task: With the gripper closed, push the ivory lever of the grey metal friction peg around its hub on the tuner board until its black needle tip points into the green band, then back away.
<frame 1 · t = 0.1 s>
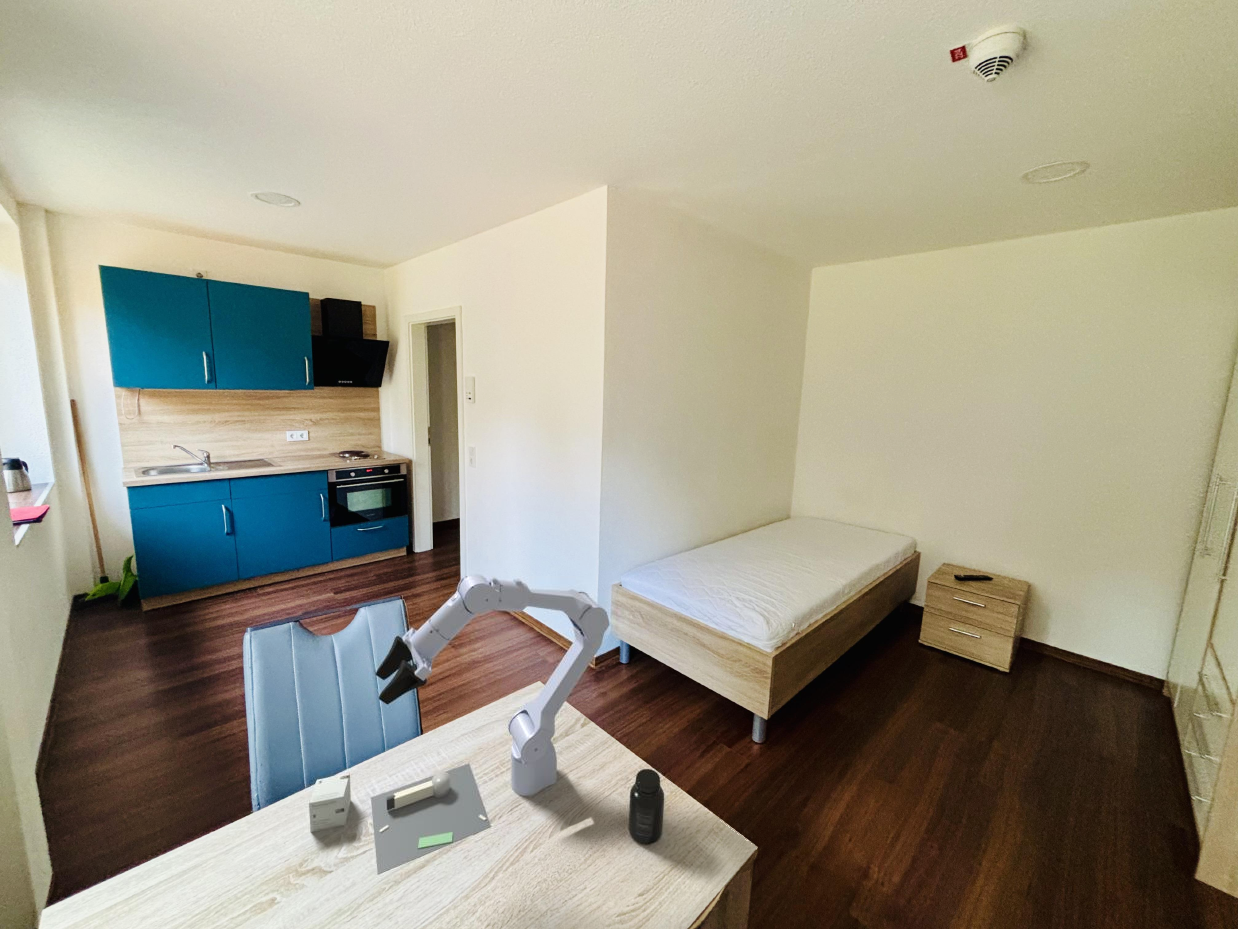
hand: (381, 688, 88), 32 cm above the table, tool tilted 50°, fingers open, 7 cm apart
skincare box: (332, 820, 97), on the table
supplement bottle: (645, 831, 98), on the table
peg lever: (419, 793, 101), point 3 cm above the table, hinge at 0.0°
tuner board: (429, 816, 99), on the table
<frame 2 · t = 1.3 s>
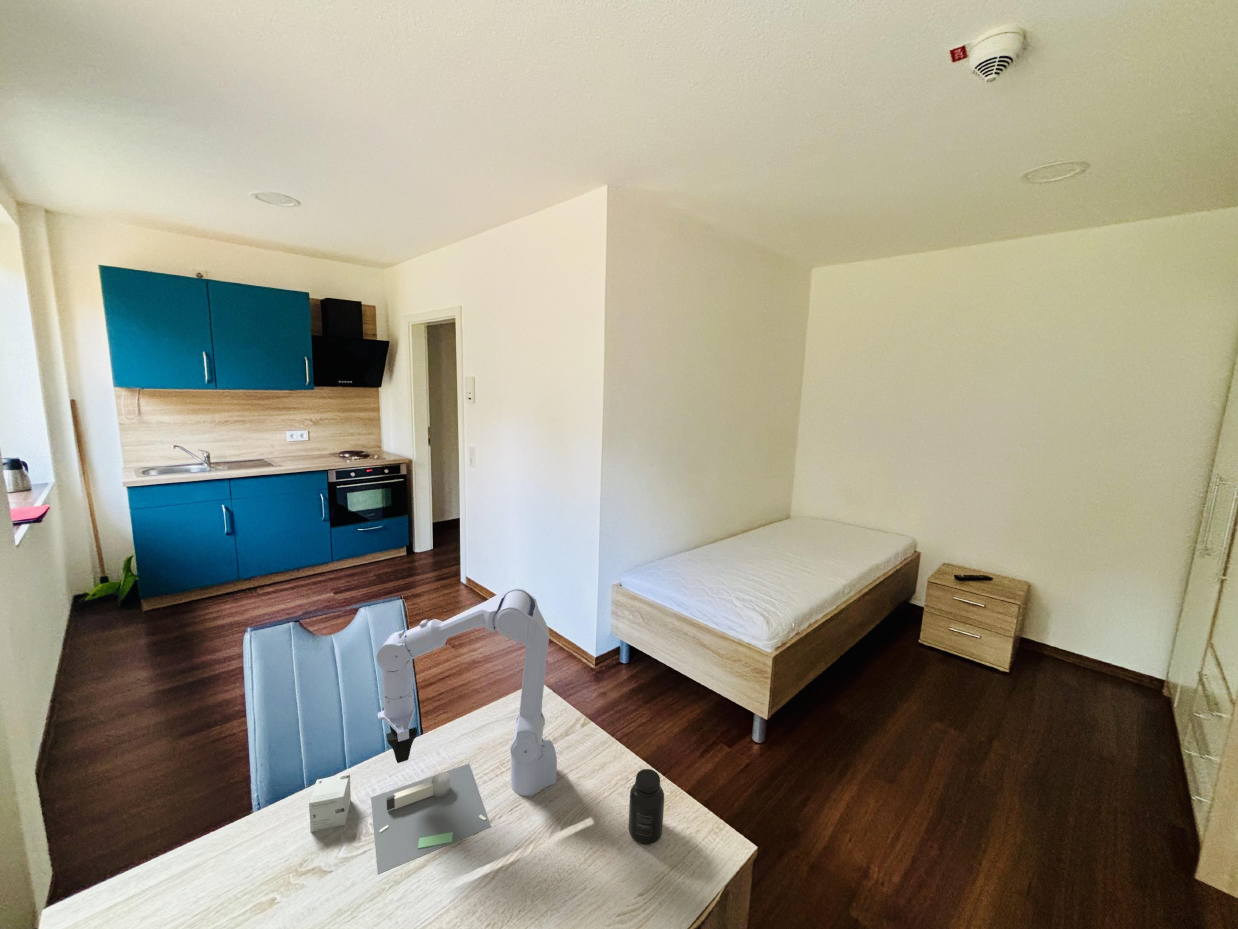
hand: (400, 748, 103), 9 cm above the table, tool pointing down, fingers open, 7 cm apart
nothing on the table moved.
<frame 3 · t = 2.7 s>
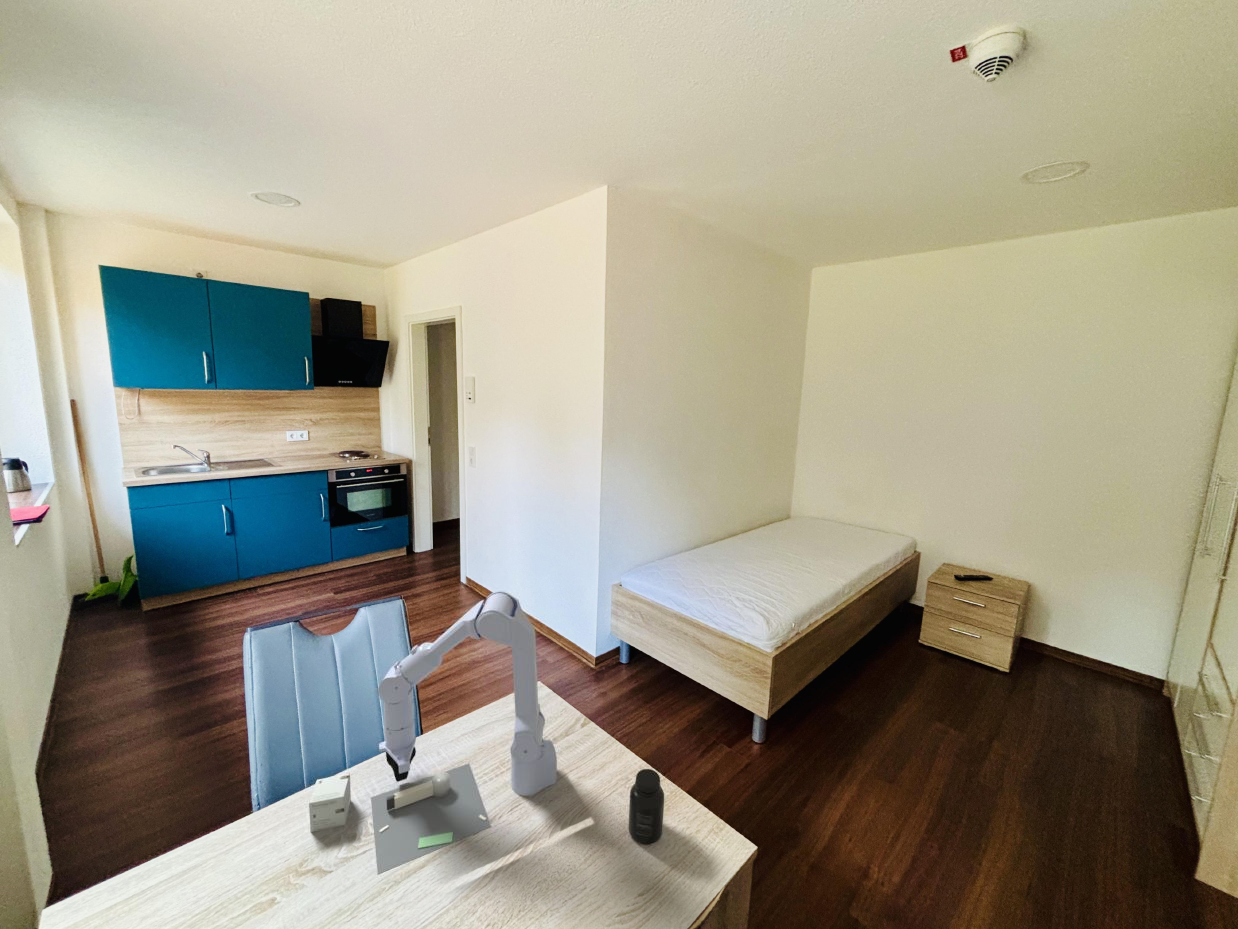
hand: (401, 778, 105), 2 cm above the table, tool pointing down, fingers closed
nothing on the table moved.
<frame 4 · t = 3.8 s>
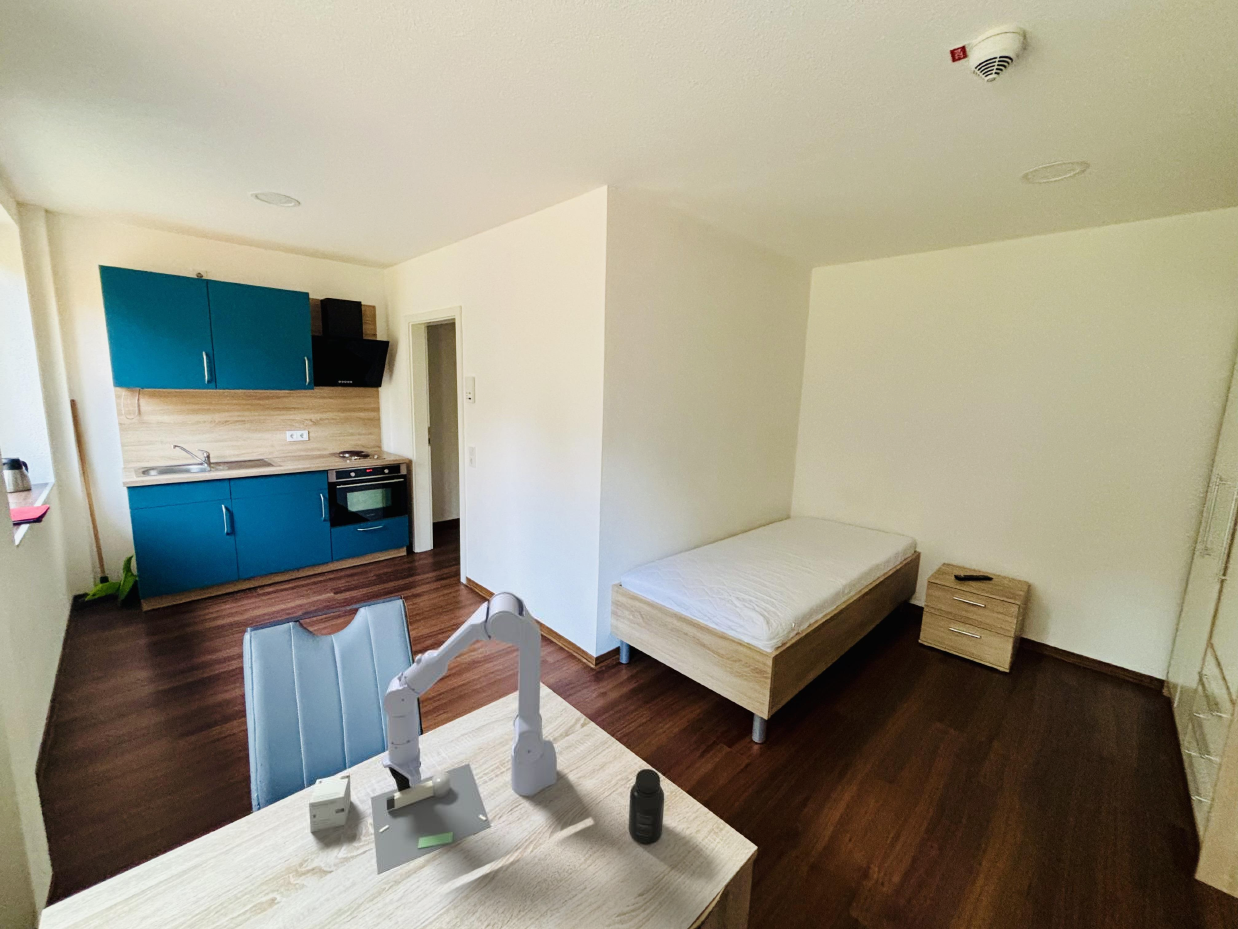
hand: (405, 792, 101), 2 cm above the table, tool pointing down, fingers closed, pressing on peg lever
peg lever: (419, 793, 101), point 2 cm above the table, hinge at 0.1°, touching gripper
everything else where it was.
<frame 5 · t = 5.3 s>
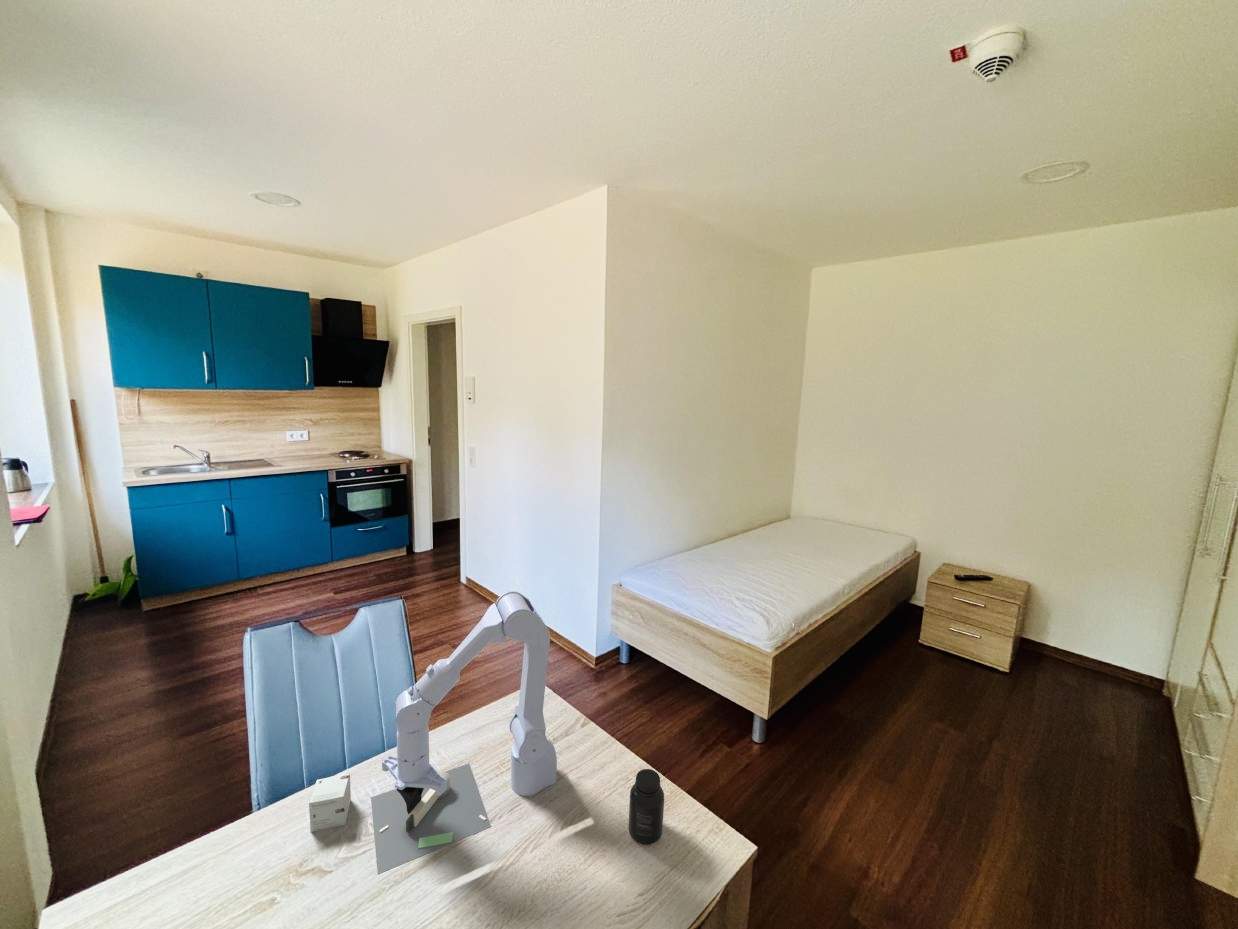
hand: (414, 811, 97), 2 cm above the table, tool pointing down, fingers closed, pressing on peg lever
peg lever: (427, 801, 99), point 3 cm above the table, hinge at 44.3°, touching gripper
everything else where it was.
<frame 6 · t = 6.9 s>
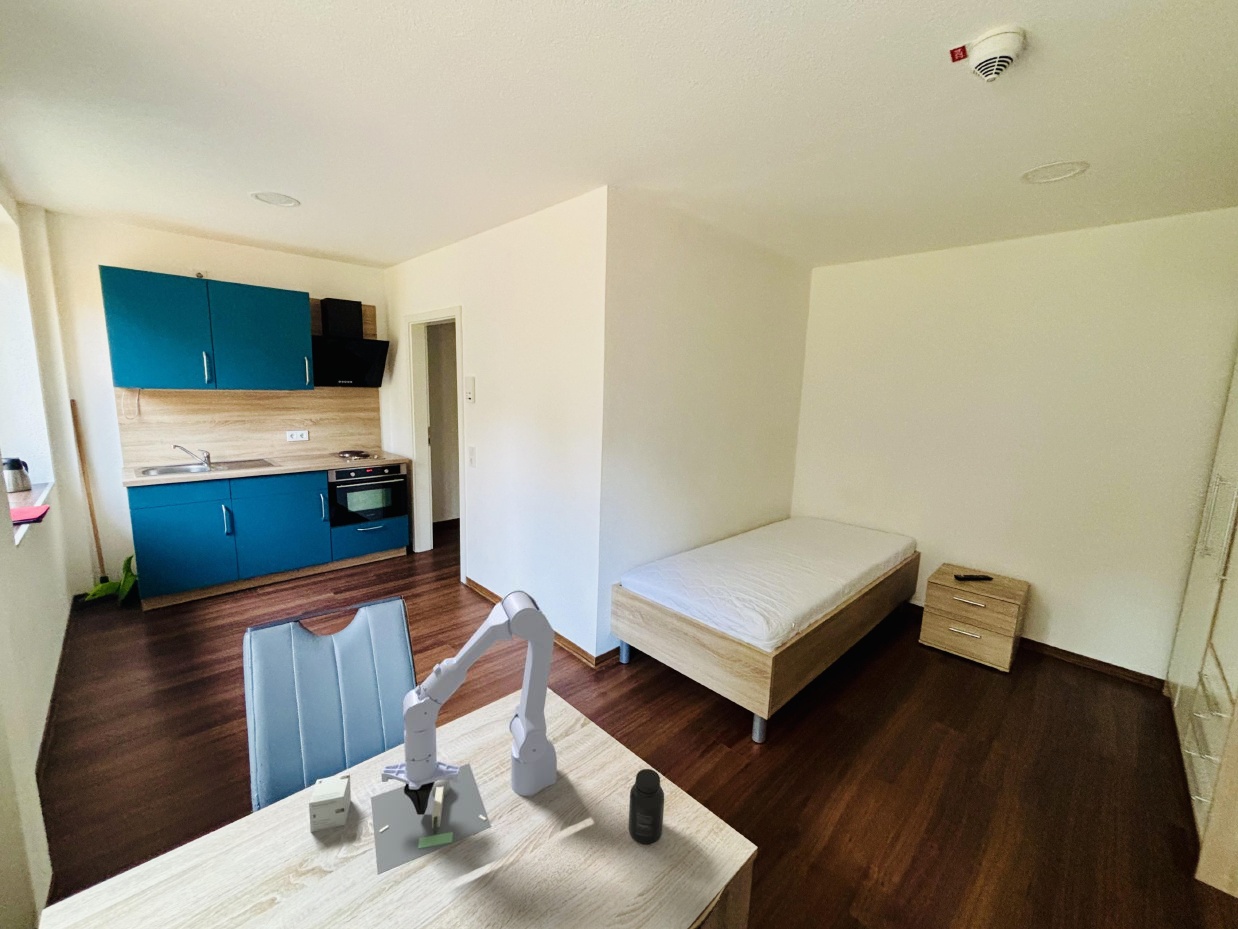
hand: (422, 810, 97), 2 cm above the table, tool pointing down, fingers closed
peg lever: (438, 802, 99), point 2 cm above the table, hinge at 73.8°
everything else where it was.
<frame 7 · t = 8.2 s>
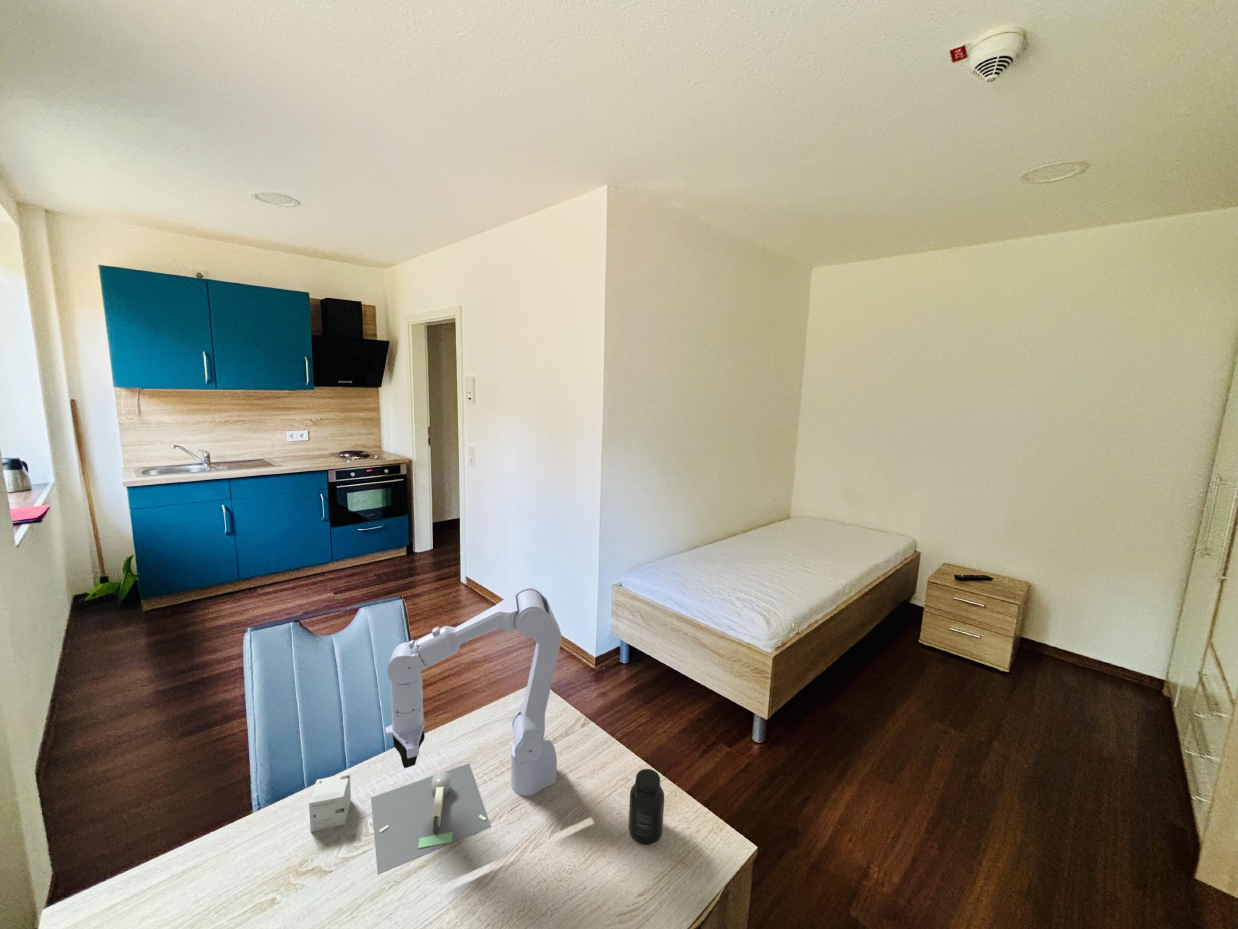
hand: (409, 764, 99), 10 cm above the table, tool pointing down, fingers closed
nothing on the table moved.
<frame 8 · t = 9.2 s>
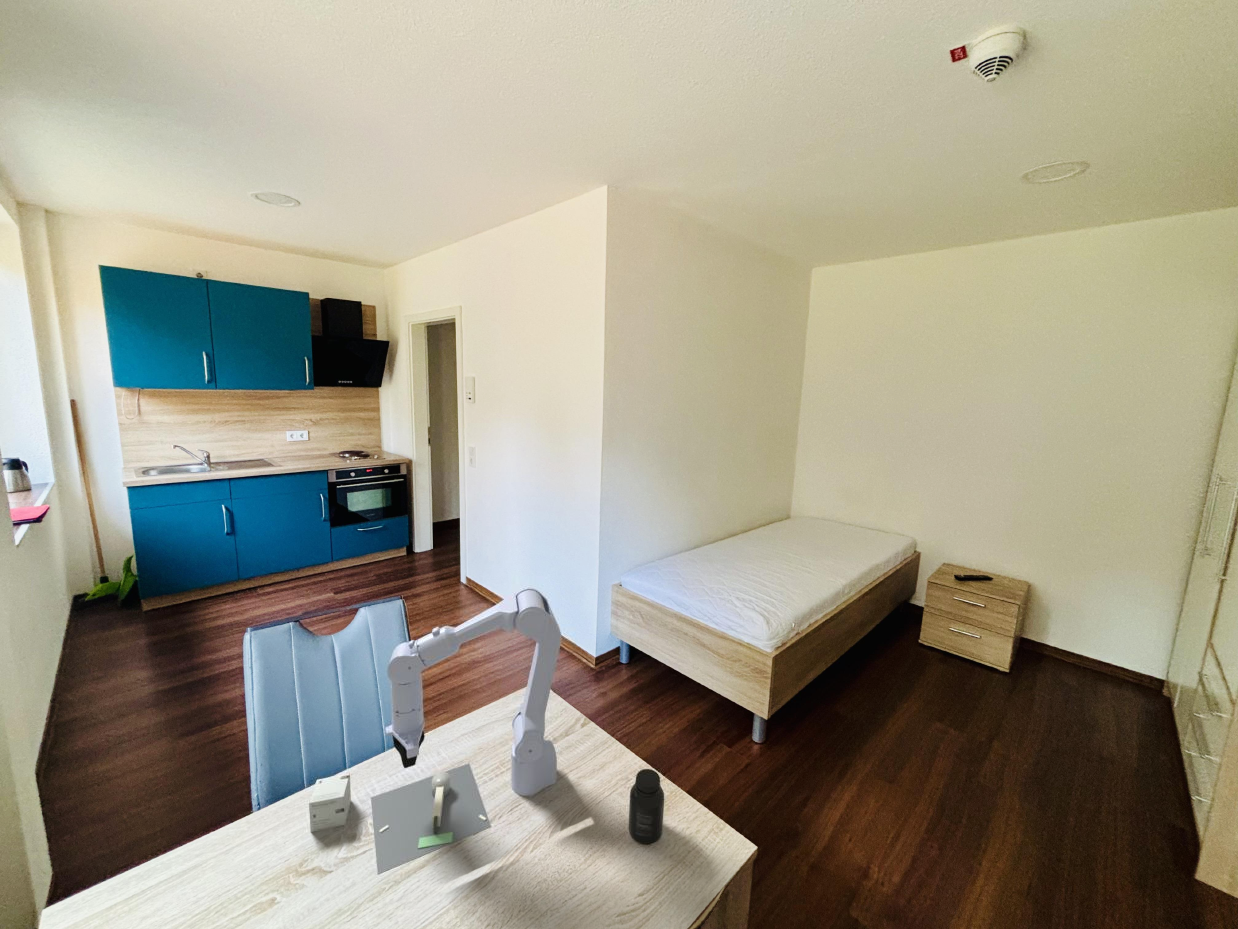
hand: (409, 764, 99), 10 cm above the table, tool pointing down, fingers closed
nothing on the table moved.
at the end: peg lever at +74° (first picture: +0°) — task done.
